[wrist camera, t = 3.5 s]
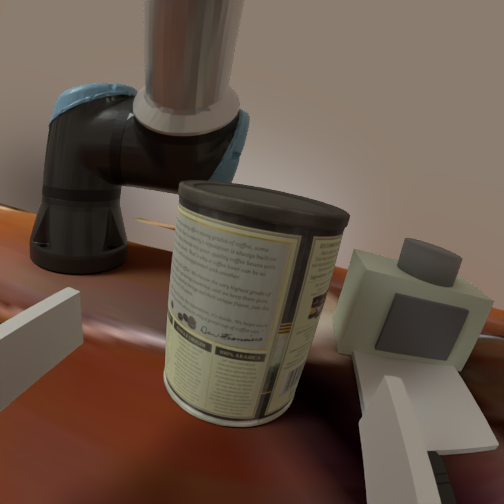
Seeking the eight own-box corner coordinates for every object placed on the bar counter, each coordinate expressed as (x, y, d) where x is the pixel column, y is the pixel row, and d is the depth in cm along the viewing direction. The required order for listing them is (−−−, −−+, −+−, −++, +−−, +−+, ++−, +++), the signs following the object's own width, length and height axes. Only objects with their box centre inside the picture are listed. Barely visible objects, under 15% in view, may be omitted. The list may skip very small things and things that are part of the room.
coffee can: (185, 331, 27) (206, 177, 23) (294, 357, 27) (336, 203, 23) (139, 403, 17) (148, 182, 13) (292, 441, 17) (369, 227, 13)
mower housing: (505, 447, 14) (578, 327, 11) (348, 452, 16) (431, 290, 13) (439, 339, 34) (471, 255, 31) (332, 318, 36) (360, 223, 33)
